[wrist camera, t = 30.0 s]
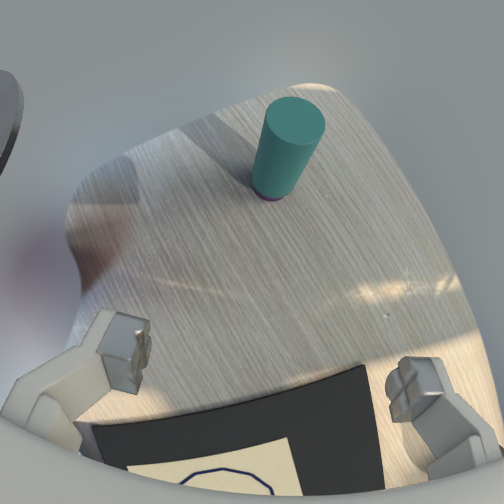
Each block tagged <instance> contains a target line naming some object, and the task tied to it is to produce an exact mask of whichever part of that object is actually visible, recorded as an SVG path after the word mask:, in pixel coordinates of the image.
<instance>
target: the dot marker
mask: <svg viewBox="0 0 504 504" xmlns="http://www.w3.org/2000/svg"><path fill="white" fill-rule="evenodd" d="M324 132H325V119H324V117H323V115H322V113H321V112H320V110H319V109H318V108H317V107H316V106H315V105H313V104H312V103H310V102H309V101H307V100H304V99H302V98H298V97H283V98H280V99H277V100H275V101H274V102H273V103H271V104H270V106H269V107H268V109H267V111H266V115H265V119H264V124H263V128H262V132H261V136H260V141H259V145H258V150H257V154H256V158H255V163H254V167H253V172H252V182H253V185H254V190H255V192H256V193H257V195H258V196H259V197H260V198H262V199H264V200H266V201H277V200H280V199H282V198H283V197H284V196H286V195H288V194H289V193H290V192H291V191H292V189H293V188H294V186H295V184H296V182H297V180H298V179H299V177H300V175H301V173H302V172H303V170H304V168H305V166H306V164H307V163H308V161H309V159H310V157H311V155H312V154H313V152H314V150H315V148H316V147H317V145H318V143H319V141H320V139H321V138H322V136H323V134H324Z"/></svg>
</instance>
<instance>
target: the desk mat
mask: <svg viewBox="0 0 504 504" xmlns="http://www.w3.org/2000/svg"><path fill="white" fill-rule="evenodd" d="M92 430H93V433H94V435H95V438H96V440H97V443H98V446H99V448H100V451H101V453H102V455H103V458H104V460H105V462H106V465H109V466H112V467H115V468H118V469H121V470H125V471H128V472H131V473H135V474H139V475H142V476H146V477H150V478H154V479H158V480H162V481H167V482H171V483H176V484H181V485H186V486H192V487H198V488H204V489H210V490H217V491H225V492H234V493H244V494H256V495H275V496H321V495H339V494H352V493H362V492H370V491H378V490H385V483H384V474H383V466H382V459H381V452H380V445H379V438H378V432H377V426H376V420H375V414H374V408H373V403H372V397H371V392H370V387H369V382H368V377H367V372H366V367H365V365H364V364H363V365H360V366H358V367H355V368H352V369H350V370H347V371H344V372H342V373H339V374H336V375H333V376H331V377H328V378H325V379H322V380H319V381H316V382H313V383H310V384H307V385H304V386H301V387H297V388H294V389H291V390H287V391H284V392H281V393H277V394H274V395H270V396H267V397H263V398H259V399H255V400H251V401H248V402H244V403H239V404H235V405H231V406H227V407H222V408H218V409H213V410H208V411H203V412H198V413H193V414H188V415H182V416H176V417H170V418H164V419H158V420H151V421H143V422H135V423H126V424H117V425H106V426H93V427H92Z"/></svg>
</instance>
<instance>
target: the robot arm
mask: <svg viewBox="0 0 504 504" xmlns="http://www.w3.org/2000/svg"><path fill="white" fill-rule="evenodd" d="M149 331H150V321H149V320H147V319H143V318H139V317H136V316H132V315H128V314H125V313H121V312H117V311H113V310H110V309H106V308H102V309H101V310H100V311H99V312H98V313H97V315H96V317H95V319H94V321H93V322H92V324H91V326H90V328H89V330H88V331H87V333H86V335H85V337H84V339H83V341H82V343H81V344H80V346H79V347H78V346H73V347H72V348H70V349H68V350H67V351H65V352H63V353H61V354H60V355H58V356H56V357H55V358H53V359H51V360H49V361H48V362H46V363H44V364H42V365H41V366H39V367H37V368H36V369H34V370H32V371H31V372H29V373H27V374H25V375H23V376H22V377H20V378H18V379H17V380H16V382H15V383H14V386H13V387H12V389H11V391H10V393H9V395H8V397H7V399H6V401H5V403H4V405H3V407H2V409H1V411H0V504H504V457H503V458H502V454H501V451H500V448H499V444H498V441H497V438H496V435H495V432H494V429H493V428H492V427H491V426H490V425H489V424H488V423H487V422H486V421H485V420H484V419H483V418H482V417H481V416H480V415H479V414H478V413H477V412H476V411H475V410H474V409H473V408H472V407H471V406H470V405H469V404H468V403H467V402H466V401H465V400H464V399H463V398H462V397H461V396H460V395H459V394H458V393H455V392H454V389H453V387H452V384H451V381H450V379H449V376H448V374H447V371H446V369H445V366H444V364H443V361H442V360H441V359H440V358H439V357H410V356H405V357H403V358H402V359H401V360H400V361H399V362H398V368H396V369H394V370H392V371H391V372H390V374H389V375H388V377H387V379H386V383H385V392H386V396H387V397H388V398H389V399H390V401H391V404H390V406H389V409H390V413H391V418H392V422H393V423H399V422H412V425H413V426H414V428H415V429H416V430H417V432H418V433H419V434H420V436H421V437H422V439H423V440H424V441H425V443H426V444H427V446H428V447H429V448H430V450H431V451H432V453H433V454H434V455H435V457H436V458H437V460H435V461H434V462H432V463H431V464H429V465H428V467H427V472H428V478H429V481H427V482H422V483H418V484H413V485H408V486H403V487H397V488H391V489H385V490H378V491H370V492H362V493H352V494H339V495H321V496H275V495H256V494H244V493H234V492H225V491H217V490H210V489H204V488H198V487H192V486H186V485H181V484H176V483H171V482H167V481H162V480H158V479H154V478H150V477H146V476H142V475H139V474H135V473H131V472H128V471H125V470H121V469H118V468H115V467H112V466H109V465H106V464H103V463H100V462H97V461H94V460H92V459H89V458H86V457H84V456H81V455H79V454H78V451H79V448H80V445H81V442H82V437H81V435H80V433H79V432H78V430H77V429H76V428H75V426H74V425H73V423H72V422H73V421H74V420H75V419H77V418H78V417H79V416H80V415H82V414H83V413H84V412H85V411H86V410H88V409H89V408H90V407H91V406H93V405H94V404H95V403H96V402H97V401H99V400H100V399H101V398H102V397H103V396H105V395H106V394H107V393H108V392H110V391H111V389H115V390H118V391H122V392H126V393H130V394H134V395H137V394H138V391H139V388H140V385H141V382H142V379H143V375H142V369H143V368H145V367H146V366H147V364H148V361H149V357H150V352H151V337H150V336H149V335H148V334H149Z"/></svg>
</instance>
